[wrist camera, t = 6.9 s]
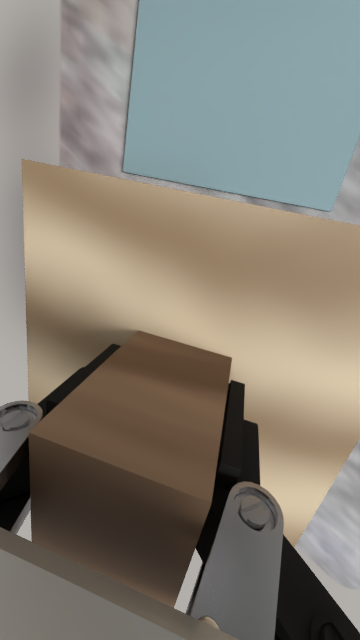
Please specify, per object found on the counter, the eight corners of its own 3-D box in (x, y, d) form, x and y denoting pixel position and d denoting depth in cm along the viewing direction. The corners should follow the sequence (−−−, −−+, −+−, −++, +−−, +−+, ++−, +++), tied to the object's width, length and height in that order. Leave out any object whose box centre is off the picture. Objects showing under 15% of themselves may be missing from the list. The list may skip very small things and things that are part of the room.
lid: (41, 164, 11) (-262, 76, 4) (449, 245, 8) (1076, 306, 2) (42, 437, 16) (-91, 571, 10) (287, 532, 14) (318, 788, 8)
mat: (154, -133, 17) (152, -141, 17) (461, -137, 15) (466, -146, 14) (124, 172, 24) (122, 171, 24) (329, 211, 21) (331, 211, 21)
